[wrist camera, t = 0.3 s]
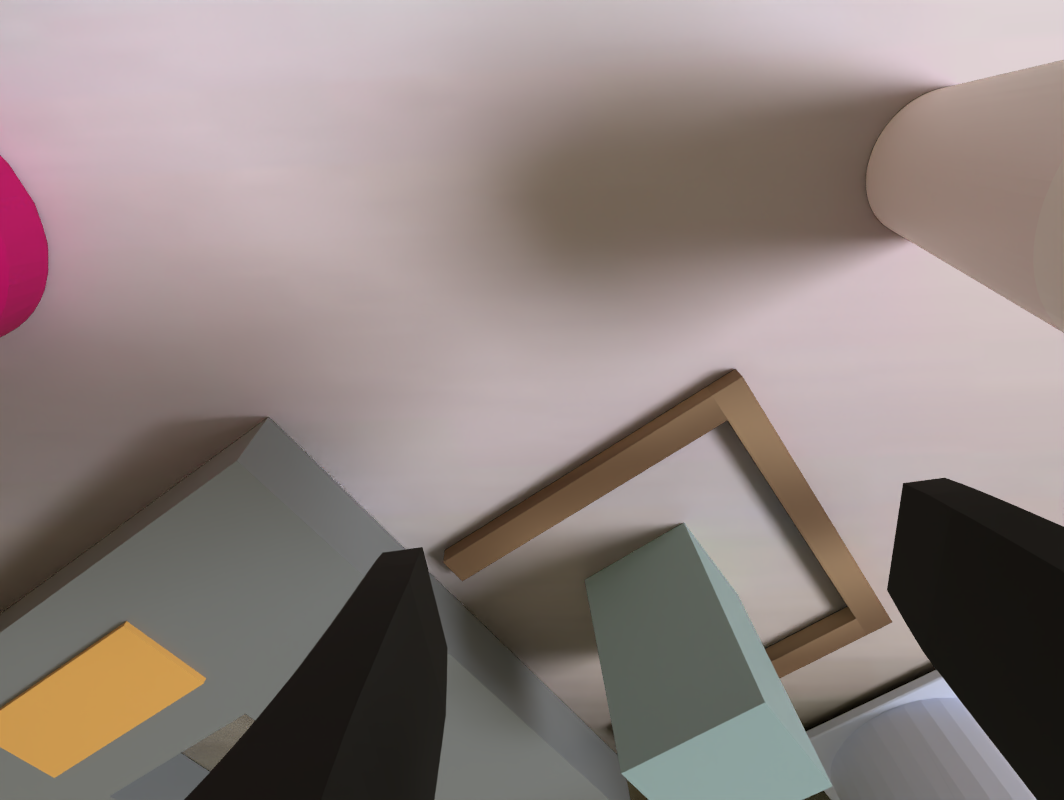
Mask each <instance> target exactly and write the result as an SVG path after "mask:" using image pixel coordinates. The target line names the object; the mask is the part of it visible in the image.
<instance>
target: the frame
mask: <svg viewBox="0 0 1064 800" xmlns="http://www.w3.org/2000/svg"><path fill="white" fill-rule="evenodd" d="M727 420H728V422H729V424H730V425H731V427H732V428H733V430H734V431H735V433H736V434H737V436H738V437H739V439H740V441H741V442H742V444H743V445H744V447H745V448H746V450H747V451H748V453H749V455H750V456H751V458H752V459H753V461H754V462H755V464H756V465H757V467H758V468H759V470H760V472H761V473H762V475H763V476H764V478H765V479H766V481H767V482H768V484H769V485H770V487H771V489H772V490H773V492H774V493H775V495H776V496H777V498H778V499H779V501H780V503H781V504H782V506H783V507H784V509H785V510H786V512H787V513H788V515H789V516H790V518H791V520H792V521H793V523H794V524H795V526H796V527H797V529H798V530H799V532H800V533H801V535H802V537H803V538H804V540H805V541H806V543H807V544H808V546H809V547H810V549H811V551H812V552H813V554H814V555H815V557H816V558H817V560H818V561H819V563H820V564H821V566H822V568H823V569H824V571H825V572H826V574H827V575H828V577H829V578H830V580H831V581H832V583H833V585H834V586H835V588H836V589H837V591H838V592H839V594H840V595H841V597H842V598H843V600H844V602H845V603H846V605H847V606H848V607H846V608H844V609H842V610H840V611H838V612H836V613H834V614H832V615H830V616H828V617H826V618H824V619H822V620H820V621H819V622H817V623H815V624H813V625H811V626H809V627H807V628H805V629H803V630H801V631H799V632H797V633H795V634H793V635H791V636H789V637H787V638H785V639H783V640H782V641H780V642H778V643H776V644H774V645H772V646H770V647H768V648H766V649H765V651H766V653H767V655H768V657H769V659H770V661H771V663H772V665H773V667H774V669H775V671H776V673H777V675H778V677H779V678H781V677H783V676H785V675H787V674H789V673H791V672H793V671H795V670H797V669H799V668H801V667H803V666H805V665H808V664H810V663H812V662H814V661H816V660H818V659H820V658H822V657H824V656H826V655H828V654H830V653H832V652H834V651H836V650H838V649H840V648H842V647H844V646H846V645H848V644H850V643H852V642H854V641H856V640H858V639H860V638H862V637H864V636H866V635H868V634H870V633H872V632H874V631H876V630H878V629H880V628H882V627H884V626H886V625H888V624H890V623H892V621H891V619H890V617H889V616H888V614H887V613H886V611H885V609H884V608H883V606H882V604H881V603H880V601H879V599H878V598H877V596H876V595H875V593H874V591H873V590H872V588H871V586H870V585H869V583H868V581H867V580H866V578H865V577H864V575H863V573H862V572H861V570H860V568H859V567H858V565H857V563H856V562H855V560H854V558H853V557H852V555H851V554H850V552H849V550H848V549H847V547H846V545H845V544H844V542H843V540H842V539H841V537H840V536H839V534H838V532H837V531H836V529H835V527H834V526H833V524H832V522H831V521H830V519H829V518H828V516H827V514H826V513H825V511H824V509H823V508H822V506H821V504H820V503H819V501H818V500H817V498H816V496H815V495H814V493H813V491H812V490H811V488H810V486H809V485H808V483H807V482H806V480H805V478H804V477H803V475H802V473H801V472H800V470H799V468H798V467H797V465H796V464H795V462H794V460H793V459H792V457H791V455H790V454H789V452H788V450H787V449H786V447H785V446H784V444H783V442H782V441H781V439H780V437H779V436H778V434H777V432H776V431H775V429H774V427H773V426H772V424H771V423H770V421H769V419H768V418H767V416H766V414H765V413H764V411H763V409H762V408H761V406H760V405H759V403H758V401H757V400H756V398H755V396H754V395H753V393H752V391H751V390H750V388H749V387H748V385H747V383H746V382H745V380H744V378H743V377H742V376H741V375H740V373H739V372H738V371H737V370H736V369H734V370H733V371H731V372H729V373H728V374H726V375H725V376H723V377H721V378H720V379H718V380H717V381H715V382H713V383H712V384H710V385H709V386H707V387H705V388H704V389H702V390H701V391H699V392H697V393H696V394H694V395H693V396H691V397H689V398H688V399H686V400H685V401H683V402H681V403H680V404H678V405H677V406H675V407H673V408H672V409H670V410H669V411H667V412H665V413H664V414H662V415H661V416H659V417H657V418H656V419H654V420H653V421H651V422H649V423H648V424H646V425H645V426H643V427H641V428H640V429H638V430H637V431H635V432H633V433H632V434H630V435H629V436H627V437H625V438H624V439H622V440H621V441H619V442H617V443H616V444H614V445H613V446H611V447H609V448H608V449H606V450H605V451H603V452H601V453H600V454H598V455H597V456H595V457H593V458H592V459H590V460H589V461H587V462H585V463H584V464H582V465H581V466H579V467H577V468H576V469H574V470H573V471H571V472H569V473H568V474H566V475H565V476H563V477H561V478H560V479H558V480H557V481H555V482H553V483H552V484H550V485H549V486H547V487H545V488H544V489H542V490H541V491H539V492H537V493H536V494H534V495H533V496H531V497H529V498H528V499H526V500H525V501H523V502H521V503H520V504H518V505H517V506H515V507H513V508H512V509H510V510H509V511H507V512H505V513H504V514H502V515H501V516H499V517H497V518H496V519H494V520H493V521H491V522H489V523H488V524H486V525H485V526H483V527H481V528H480V529H478V530H477V531H475V532H473V533H472V534H470V535H469V536H467V537H465V538H464V539H462V540H461V541H459V542H457V543H456V544H454V545H453V546H451V547H449V548H448V549H446V550H445V552H444V561H443V563H444V564H445V565H446V566H447V567H448V568H449V569H450V570H451V571H453V572H454V573H455V574H456V575H457V576H458V577H459V578H460V579H461V580H462V581H464V580H465V579H467V578H469V577H470V576H472V575H474V574H475V573H477V572H478V571H480V570H482V569H483V568H485V567H487V566H488V565H490V564H492V563H493V562H495V561H497V560H498V559H500V558H502V557H503V556H505V555H506V554H508V553H510V552H511V551H513V550H515V549H516V548H518V547H520V546H521V545H523V544H525V543H526V542H528V541H530V540H531V539H533V538H534V537H536V536H538V535H539V534H541V533H543V532H544V531H546V530H548V529H549V528H551V527H553V526H554V525H556V524H558V523H559V522H561V521H562V520H564V519H566V518H567V517H569V516H571V515H572V514H574V513H576V512H577V511H579V510H581V509H582V508H584V507H586V506H587V505H589V504H590V503H592V502H594V501H595V500H597V499H599V498H600V497H602V496H604V495H605V494H607V493H609V492H610V491H612V490H613V489H615V488H617V487H618V486H620V485H622V484H623V483H625V482H627V481H628V480H630V479H632V478H633V477H635V476H637V475H638V474H640V473H641V472H643V471H645V470H646V469H648V468H650V467H651V466H653V465H655V464H656V463H658V462H660V461H661V460H663V459H665V458H666V457H668V456H669V455H671V454H673V453H674V452H676V451H678V450H679V449H681V448H683V447H684V446H686V445H688V444H689V443H691V442H693V441H694V440H696V439H697V438H699V437H701V436H702V435H704V434H706V433H707V432H709V431H711V430H712V429H714V428H716V427H717V426H719V425H721V424H722V423H724V422H725V421H727Z"/></svg>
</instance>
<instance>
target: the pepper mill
mask: <svg viewBox="0 0 1064 800" xmlns="http://www.w3.org/2000/svg"><path fill="white" fill-rule="evenodd" d="M47 275H48V245H47V240H46V236H45V233H44V230H43V226H42V223H41V220H40V217H39V215H38V212H37V209H36V206H35V203H34V202H33V200H32V199H31V197H30V196H29V194H28V193H27V191H26V190H25V188H24V187H23V185H22V183H21V182H20V180H19V179H18V177H17V176H16V174H15V173H14V171H13V170H12V168H11V167H10V165H9V164H8V163H7V162H6V161H5V160H4V159H3V158H2V157H1V156H0V337H2V336H4V335H6V334H7V333H9V332H11V331H12V330H14V329H16V328H17V327H19V326H20V325H21V324H22V323H23V322H24V321H26V320H27V319H28V317H29V316H30V315H31V314H32V313H33V312H34V310H35V309H36V307H37V305H38V303H39V302H40V300H41V297H42V295H43V293H44V290H45V285H46V280H47Z"/></svg>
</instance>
